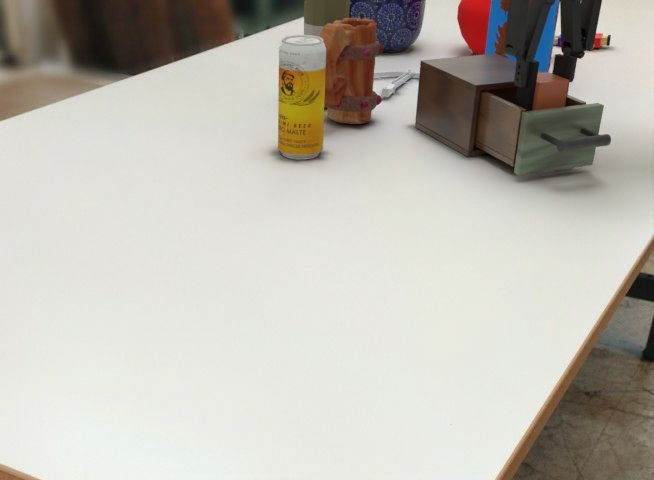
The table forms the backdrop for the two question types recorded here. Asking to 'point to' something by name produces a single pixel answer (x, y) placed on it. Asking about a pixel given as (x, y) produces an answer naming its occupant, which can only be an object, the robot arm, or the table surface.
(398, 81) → the crossbow
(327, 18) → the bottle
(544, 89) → the block
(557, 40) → the toy figure
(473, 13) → the vase
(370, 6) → the planter
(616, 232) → the table surface
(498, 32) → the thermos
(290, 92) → the beer can
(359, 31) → the mug
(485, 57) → the cabinet
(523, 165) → the drawer
